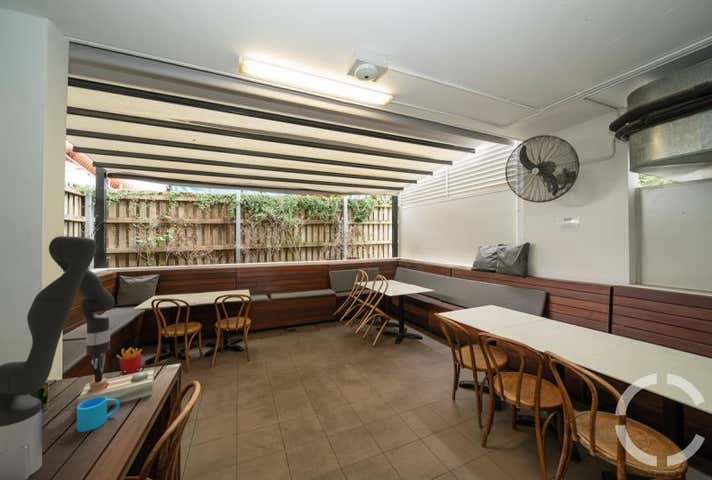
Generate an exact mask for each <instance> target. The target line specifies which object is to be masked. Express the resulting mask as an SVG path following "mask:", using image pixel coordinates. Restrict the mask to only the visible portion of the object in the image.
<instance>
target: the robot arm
mask: <svg viewBox="0 0 712 480" xmlns="http://www.w3.org/2000/svg"><path fill="white" fill-rule="evenodd" d="M48 252H49V255H50V257H51V258H52V260H53V261H54V262H55V263H56V264H57V266H59V267H60V269H61V270H62V271H63V273H62V275H60V276H59V277H58V278H56V279H54V280H53V281H51V283H49V284H48V285H47V286H45V287H44V288H43V289H41V291H39V292H38V293H37V294H36V296H35V297H34V299H33V301H32V303H31V306H30V307H29V309H28V313H27V316H26V321H27V325H28V330H29V332H30V335H31V339H32V342H31V349H30V351H29V355H28V357H27V359H26V360H23V361H12V362H11V361H10V362H6V363H3V364H0V480H28V479H29V477H30V476H32V475H33V474H35V473H36V472H37V471H38V470H39V469H41V467H42V465H43V453H42V452H43V449H42V448H43V439H42V435H43V432H42V430H43V429H42V427H43V426H42V424H43V423H42V421H43V417H42V412H43V411H42V404H41V401H40V400H39V399H37V398H35V397H32V396H30V395H29V394H32V393H34V392H36V391H38V390H39V389H40V388H41V387H42V386H43V385H44V384H45V382H46V381H47V379H48V380H49V376H50V374H51V371H52V369H53V365H54V364H53V363H54V359H55V355H56V351H57V348H58V345H59V343H60V342H59V341H60V340H61V339H60V338H61V335H62V334H63V331H64V328H65V325H66V322H67V320H68V318H69V315H70V312H71V310H72V307H73V305H74V302H75V299H76V296H77V293H78V292H79V294H80V296H81V297H82V299H81V302H80V309H81V312H82V314H83V317H84V319H85V322H86V338H85V344H86V345H85V347H86V349H85V352H86V355H87V356H92V358H91V361H90V362H91V366H90V368H91V372H92V374H93V375H94V380H95V382H100V381H102V378H103V372H104V368H105V361H106V360H105V359H106V353H107V352H109V351H110V350H111V331H110V318H109V316H105V315H99V314H97V312H107V311H109V310H112V309H113V308H114V306H115V303H116V302H115V298H114V296H113V294H111V292H109V291H108V290H107V288H105V287H104V286H103V284H102V282H101V279H100V278H99V276H98V275H97V274H96V273H95V272H93V271H92V270H90V269H89V267H90V266H91V263H92V261H93V259H94V258H95V255H96V252H97V242H96V240H95V239H94V238H90V237H86V236H85V237H82V236H71V235H70V236H68V235H66V236H65V235H61V236H56V237H54V238H53V239H51V241H50V243H49V245H48Z"/></svg>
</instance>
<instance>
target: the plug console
mask: <svg viewBox="0 0 712 480" xmlns="http://www.w3.org/2000/svg"><path fill="white" fill-rule="evenodd" d="M140 372H141V371H139V372H138V373H140ZM142 372H147V377H146V379H144V380H140V381H136V382H133V380H132V376H133V375H134V374H136V373H134V374H129V375H125V376H122V375H120V376H117V377H116V376H115V377H111V378H107V383H106V389H102V390H97V391H93V392H91V387H90V382H88V383H86V384H85V386H84V387H83V390H82V391H81V393H80V394H79V396H78V398H77V406H78V405H79V404H81V403H82V402H84V401H86V400H89V399H92V398H96V397H106V398H107V399H116V400H118V401H119V404H121V403H125V402H128V401H133V400H135V399H136V400H137V399H140V398H145V397H148V396H152V395H153V394H154V393H153V392H154V383H155V369H154V368H153V369H148V370H144V371H142ZM114 405H116V403H115V402H113V401H108V402H107V407H110V406H114Z"/></svg>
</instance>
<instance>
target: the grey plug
mask: <svg viewBox="0 0 712 480" xmlns="http://www.w3.org/2000/svg"><path fill="white" fill-rule="evenodd" d="M139 372H140V373H136V374H134V375H133V376H132V380H133V382H136V381H140V380H144V379H146V377H147V372H143V371H139Z"/></svg>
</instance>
